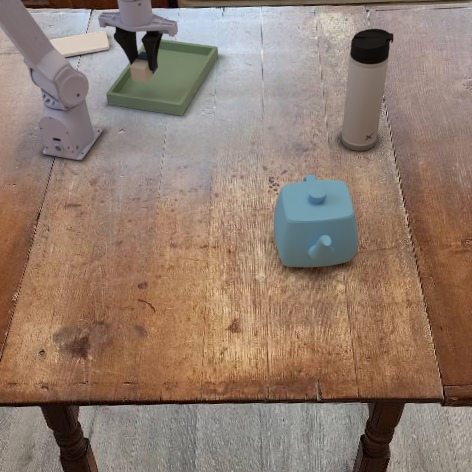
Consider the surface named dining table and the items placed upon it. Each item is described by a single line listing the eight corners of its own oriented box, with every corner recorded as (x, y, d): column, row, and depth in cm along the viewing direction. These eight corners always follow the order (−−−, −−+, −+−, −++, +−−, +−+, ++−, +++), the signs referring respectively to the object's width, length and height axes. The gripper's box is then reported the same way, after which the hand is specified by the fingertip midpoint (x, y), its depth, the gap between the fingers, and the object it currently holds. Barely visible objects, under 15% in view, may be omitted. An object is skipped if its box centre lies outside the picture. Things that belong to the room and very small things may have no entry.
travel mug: (376, 153, 121) (392, 46, 105) (339, 149, 122) (349, 43, 106) (379, 132, 124) (395, 26, 109) (343, 129, 125) (353, 23, 110)
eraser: (147, 83, 127) (144, 68, 125) (132, 80, 128) (129, 66, 125) (159, 66, 130) (157, 51, 128) (144, 64, 131) (142, 49, 129)
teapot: (282, 300, 100) (283, 244, 91) (269, 217, 112) (269, 160, 102) (365, 293, 101) (374, 237, 92) (344, 211, 112) (350, 154, 103)
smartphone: (37, 41, 148) (105, 30, 150) (38, 45, 149) (106, 33, 150) (39, 58, 144) (109, 46, 145) (40, 62, 144) (110, 49, 146)
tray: (182, 116, 130) (180, 105, 128) (108, 104, 133) (105, 93, 132) (218, 57, 143) (217, 46, 141) (149, 48, 146) (148, 37, 144)
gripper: (180, -13, 118) (187, 60, 129) (104, -21, 121) (118, 50, 132) (165, 7, 114) (174, 80, 125) (87, -3, 117) (103, 70, 128)
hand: (144, 66), depth 128 cm, fingers closed on eraser, 3 cm apart
